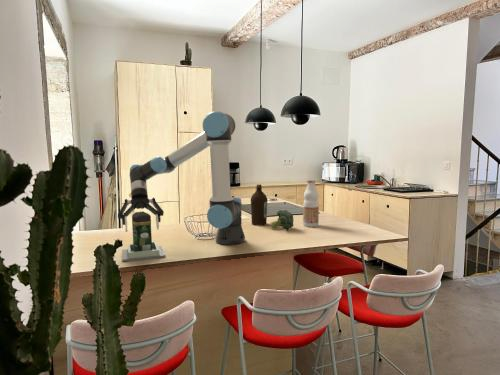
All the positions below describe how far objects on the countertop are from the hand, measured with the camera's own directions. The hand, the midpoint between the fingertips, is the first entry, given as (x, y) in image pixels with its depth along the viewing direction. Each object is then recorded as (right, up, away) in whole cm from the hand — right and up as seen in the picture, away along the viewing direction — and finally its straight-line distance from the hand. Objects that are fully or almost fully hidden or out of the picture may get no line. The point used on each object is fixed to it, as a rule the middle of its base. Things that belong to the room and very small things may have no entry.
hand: (142, 229), depth 160 cm
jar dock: (0, -12, +3) cm, 12 cm away
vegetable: (+67, -6, +51) cm, 85 cm away
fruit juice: (+86, -5, +61) cm, 105 cm away
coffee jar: (-1, -11, +3) cm, 12 cm away
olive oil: (+54, -5, +66) cm, 85 cm away
